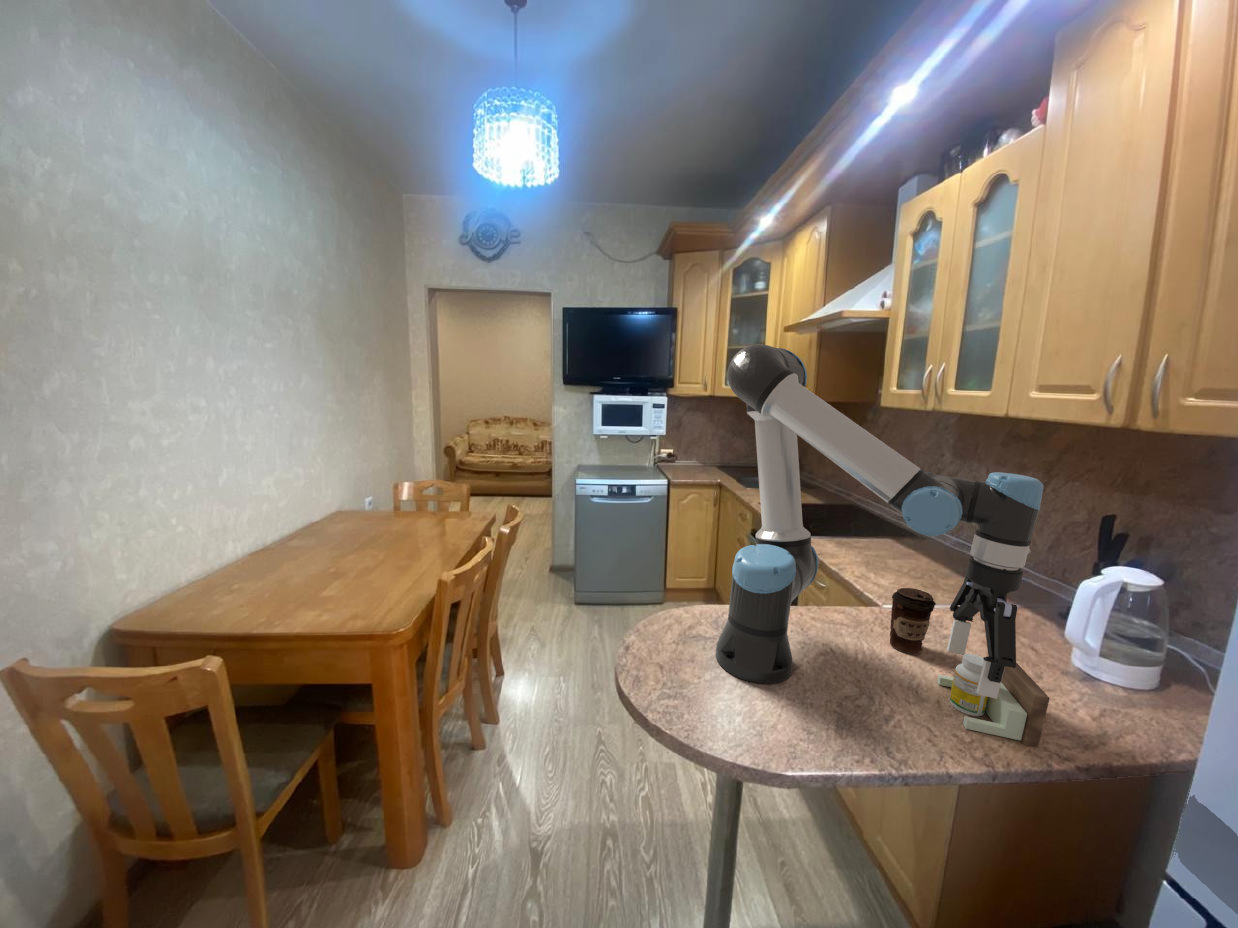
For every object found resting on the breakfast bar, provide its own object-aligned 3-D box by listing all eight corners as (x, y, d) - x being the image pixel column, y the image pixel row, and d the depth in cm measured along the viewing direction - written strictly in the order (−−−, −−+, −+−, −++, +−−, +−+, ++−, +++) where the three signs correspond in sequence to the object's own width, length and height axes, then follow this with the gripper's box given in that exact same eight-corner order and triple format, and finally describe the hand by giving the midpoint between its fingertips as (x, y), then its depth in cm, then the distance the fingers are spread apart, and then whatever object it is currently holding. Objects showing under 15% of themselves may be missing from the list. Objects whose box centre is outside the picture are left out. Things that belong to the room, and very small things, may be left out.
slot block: (965, 728, 82) (971, 702, 81) (937, 681, 95) (941, 658, 94) (1021, 740, 80) (1027, 713, 79) (983, 690, 93) (988, 666, 92)
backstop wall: (1023, 743, 79) (1034, 694, 78) (983, 690, 93) (992, 647, 92) (1038, 747, 78) (1049, 697, 77) (995, 692, 93) (1004, 649, 91)
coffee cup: (934, 661, 102) (945, 604, 100) (892, 654, 104) (901, 599, 102) (918, 640, 111) (927, 587, 109) (879, 634, 112) (887, 582, 110)
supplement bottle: (964, 717, 85) (974, 668, 83) (941, 697, 90) (951, 651, 88) (992, 717, 85) (1002, 668, 84) (968, 697, 91) (977, 651, 89)
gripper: (1065, 596, 70) (1030, 723, 74) (988, 543, 94) (965, 642, 98) (1005, 586, 72) (975, 711, 76) (945, 537, 96) (924, 633, 100)
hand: (969, 672), depth 87 cm, fingers open, 13 cm apart
